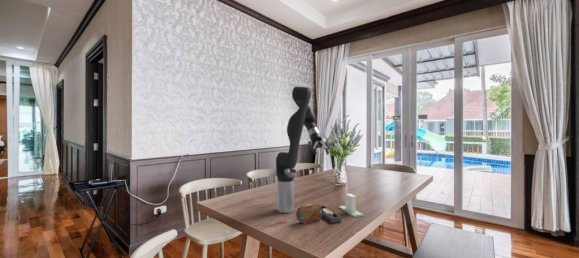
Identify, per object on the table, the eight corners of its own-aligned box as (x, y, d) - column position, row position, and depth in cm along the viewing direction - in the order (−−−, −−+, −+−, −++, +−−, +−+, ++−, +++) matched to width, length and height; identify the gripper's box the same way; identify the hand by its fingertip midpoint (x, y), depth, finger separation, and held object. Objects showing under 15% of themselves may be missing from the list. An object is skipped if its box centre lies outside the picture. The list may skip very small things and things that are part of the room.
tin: (298, 225, 120) (298, 207, 120) (295, 222, 123) (295, 205, 123) (323, 219, 127) (323, 203, 127) (320, 217, 129) (320, 201, 129)
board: (354, 217, 130) (354, 215, 130) (339, 207, 146) (339, 206, 146) (363, 216, 132) (363, 214, 132) (347, 207, 147) (347, 205, 147)
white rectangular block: (351, 212, 135) (351, 196, 135) (345, 208, 141) (345, 193, 141) (355, 211, 136) (355, 196, 136) (350, 208, 142) (350, 193, 142)
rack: (331, 223, 122) (331, 218, 122) (315, 210, 141) (315, 206, 141) (341, 222, 124) (341, 217, 124) (323, 209, 142) (324, 205, 142)
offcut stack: (327, 219, 128) (328, 213, 128) (320, 213, 137) (320, 208, 137) (333, 219, 128) (333, 213, 128) (326, 213, 138) (326, 207, 138)
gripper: (306, 131, 163) (313, 150, 152) (326, 131, 168) (334, 150, 157) (303, 139, 168) (310, 158, 157) (322, 139, 173) (330, 157, 162)
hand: (322, 154), depth 157 cm, fingers open, 8 cm apart
